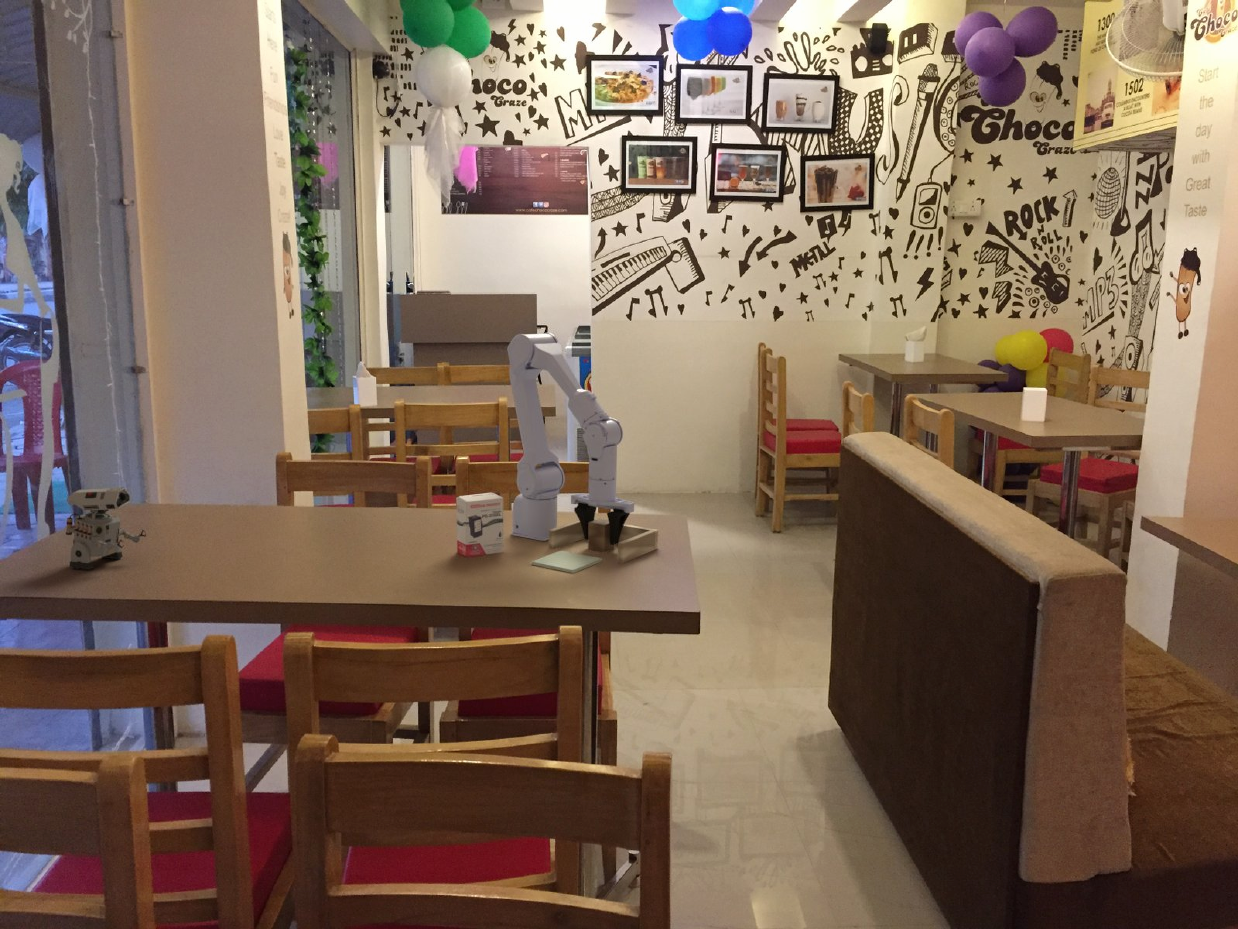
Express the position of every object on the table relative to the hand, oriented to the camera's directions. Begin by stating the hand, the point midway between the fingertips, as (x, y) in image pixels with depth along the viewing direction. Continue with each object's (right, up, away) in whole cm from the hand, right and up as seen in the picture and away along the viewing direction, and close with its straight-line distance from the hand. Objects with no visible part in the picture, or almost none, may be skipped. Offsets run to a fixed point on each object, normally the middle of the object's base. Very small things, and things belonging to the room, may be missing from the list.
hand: (601, 541), depth 210 cm
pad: (-7, -4, -10) cm, 13 cm away
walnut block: (0, -2, 0) cm, 2 cm away
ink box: (-25, -2, -3) cm, 25 cm away
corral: (0, -2, +1) cm, 2 cm away
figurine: (-95, -3, -17) cm, 97 cm away
